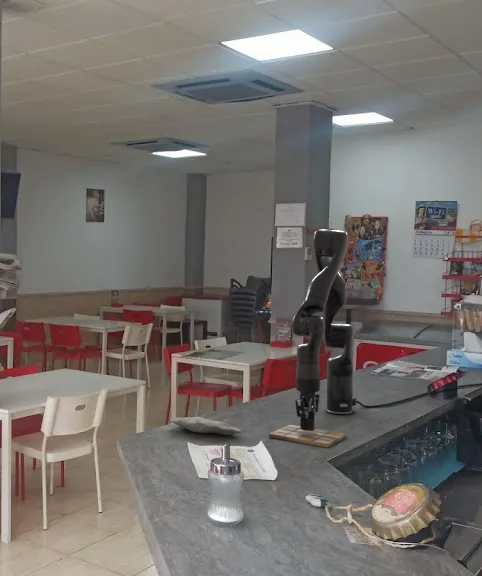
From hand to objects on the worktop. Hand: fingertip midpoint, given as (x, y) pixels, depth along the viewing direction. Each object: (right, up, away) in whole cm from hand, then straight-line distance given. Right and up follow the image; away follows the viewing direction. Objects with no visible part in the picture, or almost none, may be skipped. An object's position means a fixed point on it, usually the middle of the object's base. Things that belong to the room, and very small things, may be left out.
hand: (307, 427), depth 235 cm
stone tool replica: (-32, -3, +7) cm, 33 cm away
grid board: (0, -3, 0) cm, 3 cm away
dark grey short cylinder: (0, -1, 0) cm, 1 cm away
